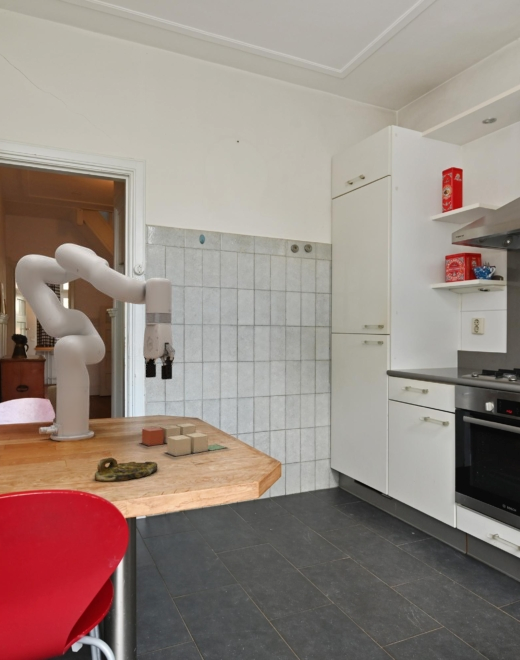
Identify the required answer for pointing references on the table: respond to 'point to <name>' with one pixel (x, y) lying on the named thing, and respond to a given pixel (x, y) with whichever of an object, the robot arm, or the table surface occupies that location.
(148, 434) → the rust orange cube
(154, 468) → the seal
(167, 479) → the table surface
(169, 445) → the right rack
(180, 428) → the left rack
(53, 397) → the stone cup
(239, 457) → the table surface
